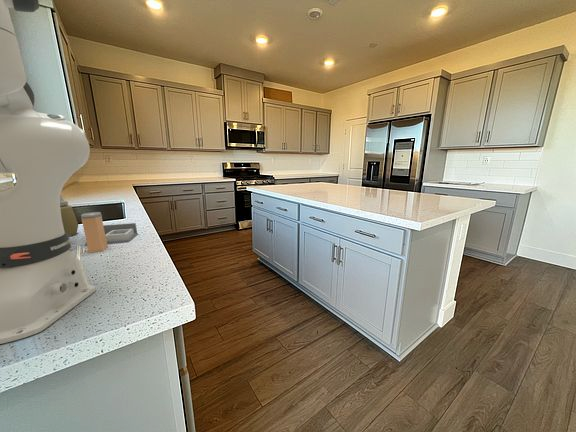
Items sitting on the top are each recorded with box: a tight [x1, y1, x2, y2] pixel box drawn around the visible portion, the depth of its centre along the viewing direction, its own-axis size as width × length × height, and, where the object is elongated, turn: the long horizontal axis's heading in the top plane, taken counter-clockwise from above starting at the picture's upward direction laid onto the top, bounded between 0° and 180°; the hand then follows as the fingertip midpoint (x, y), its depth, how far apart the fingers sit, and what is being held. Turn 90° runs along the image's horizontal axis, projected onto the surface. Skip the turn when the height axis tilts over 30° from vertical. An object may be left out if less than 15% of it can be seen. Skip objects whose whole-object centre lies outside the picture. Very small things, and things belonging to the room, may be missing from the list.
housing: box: [84, 222, 138, 247], centre depth 93 cm, size 10×14×5 cm
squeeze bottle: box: [60, 194, 79, 237], centre depth 99 cm, size 8×8×18 cm
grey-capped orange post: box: [80, 211, 108, 254], centre depth 82 cm, size 5×5×13 cm
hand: (64, 152), depth 76 cm, fingers open, 8 cm apart
